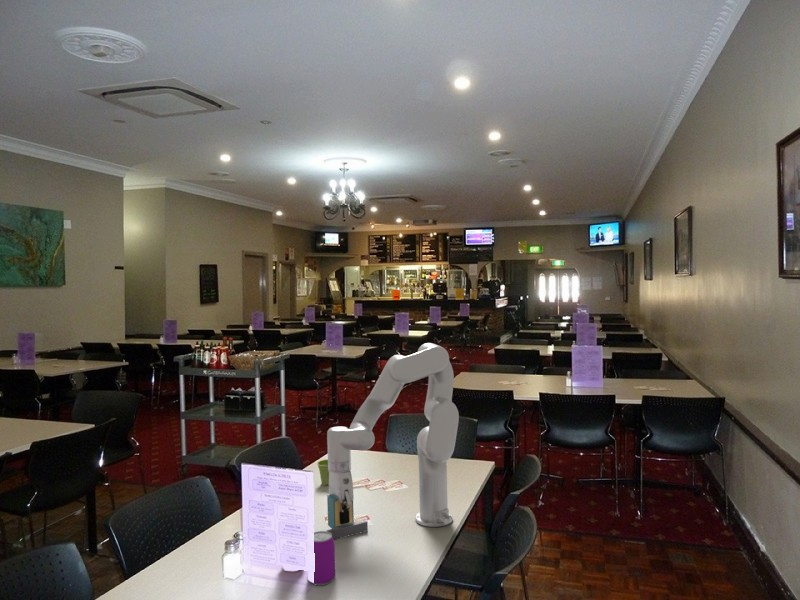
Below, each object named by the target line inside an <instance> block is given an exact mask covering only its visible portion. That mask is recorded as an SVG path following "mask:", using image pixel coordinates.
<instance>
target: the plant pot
mask: <svg viewBox="0 0 800 600" xmlns="http://www.w3.org/2000/svg"><path fill="white" fill-rule="evenodd" d="M316 465H317V466H318V471H319V475H320V482H321V484H322V485H323V486H329V471H328V458H326V459H322V460H319V461H317V462H316Z"/></svg>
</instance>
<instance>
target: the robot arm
mask: <svg viewBox="0 0 800 600" xmlns="http://www.w3.org/2000/svg"><path fill="white" fill-rule="evenodd" d="M427 377H428V386H427V392H426V399H425V403H424V409H423V411H424V416H425V417H426V419H427V421H429V425H427V426H425V427H423V428H422V429H421V430H420V431H419V432H418V434H417V437H416V448H417V449H416V450H417V458H418V459H417V460H418V484H419V485H418V489H419V491H418V492H419V493H418V495H419V512H417V513H416V514H415V522H416V523H418V524H419V525H421V526H424V527H430V528H440V527H444V526H447V525H449V524H451V523H452V521H453V520H454V519H453V515H452V513H450V512H449V511H450V510H449V507H448V503H449V502H448V500H449V499H448V465H447V461H448V460H450V458H451V457H452V456H453V453H454V451H455V447H456V440H457V434H458V427H459V422H460V421H459V419H460V415H459V410H458V408H457V406H456V404H455V403H454V402H453V400H452V399H453V391H454V390H453V389H454V382H455V381H454V379H455V378H454V377H455V375H454V369H453V366H452V364H451V362H450V356H449V352H448V351H447V350H446V348H444V347H442V346H441V345H438V344H435V343H432V342H426V343H423V344H421V345H420V346H419V348H418V349H417V352H415V353H412V354H409V355H402V354H394V355H393V356H391V357H390V358H389V359H388V360H387V362H386V364H385V365H384V367H383V370H382V371H381V373H380V375H379V377H378V379H377V380H376V383H375V384H374V387H373V388H372V390H371V391H370V394H369V395H368V396H367V397H366V399H365V400H364V402H363V403H362V404H361V405H360V407H359V408H358V410H357V412H356V414H355V415H354V418H353V420H352V422H351V423H350V426H349V428H348V427H347V426H339V425H338V426H333V427H332V426H331V427H330V428H329V429H328V430H327V431H326V433H327V434H326V441H327V443H326V445H327V459H328V471H329V485H328V493H329V494H328V495H333V496H334V497H335V498H337V500H338V502H339V503H340V510H341V512H340V524H345V523H349V521H350V520H349V511H350V507H351V505H352V503H351V501H353V502H354V499H355V498H354V483H353V477H352V471H351V470H352V456H351V454H352V452H351V451H367V450H368V451H369V450H370V449H371V448H373V445H374V444H375V439H376V437H375V434H374V432H373V428H374V426H375V425H376V423H377V421H378V419H379V418H380V417H381V415H382V414H383V413H384V412H385V411H387V410H389V409H390V408H392V406H393V405H394V404H395V402H396V400H397V399H398V397H399V395H400V392H401V391H402V389H403V387H404V385H405V384H408V383H412V382H415V381H418V380H421V379H424V378H427ZM343 500H345V501H344V502H343ZM344 503H346V505H344V507H343V504H344Z"/></svg>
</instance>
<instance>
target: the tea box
mask: <svg viewBox="0 0 800 600" xmlns="http://www.w3.org/2000/svg"><path fill="white" fill-rule="evenodd" d="M326 495H327V494H326ZM326 498H327V499H326V500H327V504H326V505H327V526H328V527H329V528H330V529H334V528H338V527H342V526H346V525H350V524H354V521H355V518H354V516H355V515H354V500H353V501H351V503H352V505H351V507H350V511H349V520H350V521H349V523H345V524H340V512H341V510H340V503H339V502H338V500H337V498H335V497H334V496H333V495H330V494H328V495H327V497H326ZM344 501H345V500H343V502H344ZM344 505H346V503H344V504H343V507H344Z"/></svg>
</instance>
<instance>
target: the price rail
mask: <svg viewBox="0 0 800 600" xmlns="http://www.w3.org/2000/svg"><path fill="white" fill-rule="evenodd" d="M368 526H369V525H368V521H367V520H363V521H359V522H355V523H354V524H350V525H346V526H342V527H338V528H334V529H332V528H330V529H326V530H325V531H327V532H330V533H331V534H332V537H333V540H334V541H335V540H338V539H342V538H346V537H349V536H348V535H350V536H353V535H352V534H354V535H357V534H356V533H358V534H361V533H360V532H362V533H365V532H364V531H366V532H368V529H369V528H368ZM345 536H346V537H345ZM341 537H342V538H341ZM337 538H338V539H337Z"/></svg>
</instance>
